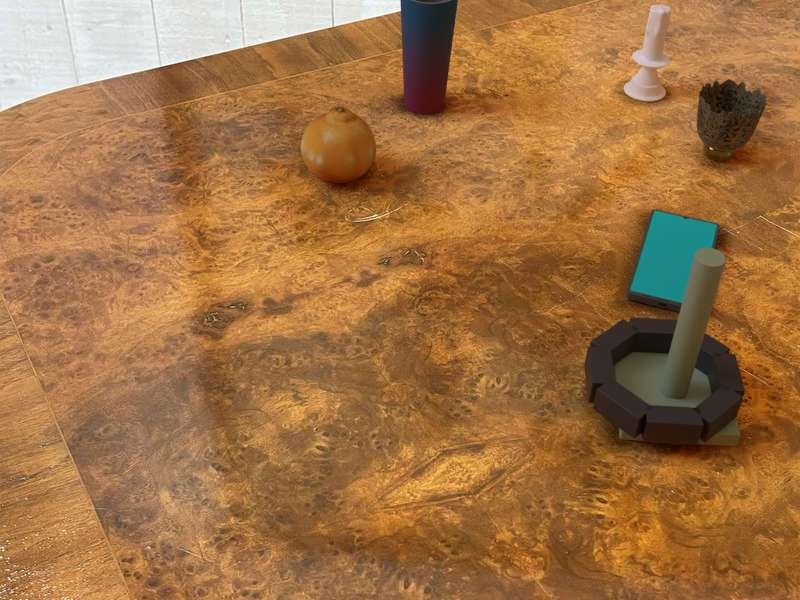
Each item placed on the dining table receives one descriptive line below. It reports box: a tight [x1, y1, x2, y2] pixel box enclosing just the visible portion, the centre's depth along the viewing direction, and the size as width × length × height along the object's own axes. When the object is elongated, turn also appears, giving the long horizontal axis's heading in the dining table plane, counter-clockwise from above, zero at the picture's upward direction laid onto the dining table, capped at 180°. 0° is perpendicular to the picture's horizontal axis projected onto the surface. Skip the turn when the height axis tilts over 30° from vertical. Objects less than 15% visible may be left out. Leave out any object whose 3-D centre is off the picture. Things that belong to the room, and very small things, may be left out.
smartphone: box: [625, 208, 721, 313], centre depth 110 cm, size 7×1×15 cm
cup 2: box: [696, 78, 768, 162], centre depth 123 cm, size 8×7×8 cm
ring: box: [583, 316, 746, 446], centre depth 93 cm, size 13×13×2 cm
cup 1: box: [399, 0, 459, 115], centre depth 128 cm, size 7×7×15 cm
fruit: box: [300, 106, 377, 184], centre depth 119 cm, size 8×8×8 cm
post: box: [613, 248, 741, 447], centre depth 90 cm, size 10×10×16 cm
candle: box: [623, 3, 672, 102], centre depth 133 cm, size 5×5×12 cm
